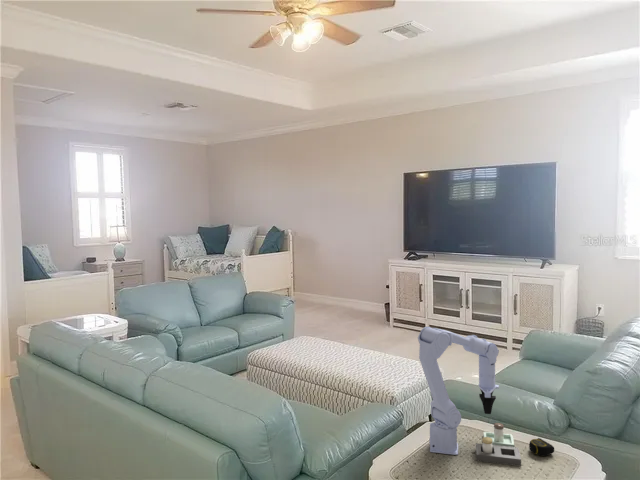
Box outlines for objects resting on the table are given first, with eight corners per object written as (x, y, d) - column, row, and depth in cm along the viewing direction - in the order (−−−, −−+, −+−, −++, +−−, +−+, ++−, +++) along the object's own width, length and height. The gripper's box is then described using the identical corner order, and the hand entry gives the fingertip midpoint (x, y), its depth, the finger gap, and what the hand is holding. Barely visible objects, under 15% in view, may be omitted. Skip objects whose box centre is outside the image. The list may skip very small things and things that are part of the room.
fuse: (482, 458, 164) (482, 441, 164) (482, 453, 167) (482, 436, 167) (492, 459, 163) (492, 442, 163) (492, 454, 166) (492, 437, 166)
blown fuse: (494, 442, 173) (494, 426, 173) (493, 438, 177) (493, 422, 176) (504, 443, 172) (503, 427, 172) (503, 439, 176) (503, 423, 175)
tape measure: (555, 455, 164) (555, 445, 164) (539, 459, 162) (539, 448, 162) (540, 446, 171) (540, 436, 171) (524, 450, 169) (524, 439, 169)
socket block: (476, 460, 162) (476, 454, 162) (475, 449, 170) (475, 443, 170) (521, 465, 158) (521, 459, 158) (518, 453, 166) (518, 447, 166)
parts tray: (484, 446, 172) (484, 441, 172) (483, 435, 180) (483, 431, 180) (514, 449, 169) (514, 444, 169) (512, 438, 177) (512, 434, 177)
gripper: (499, 381, 170) (499, 418, 171) (497, 367, 184) (498, 402, 185) (478, 379, 172) (478, 416, 173) (478, 366, 186) (478, 400, 187)
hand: (487, 409), depth 179 cm, fingers open, 7 cm apart
